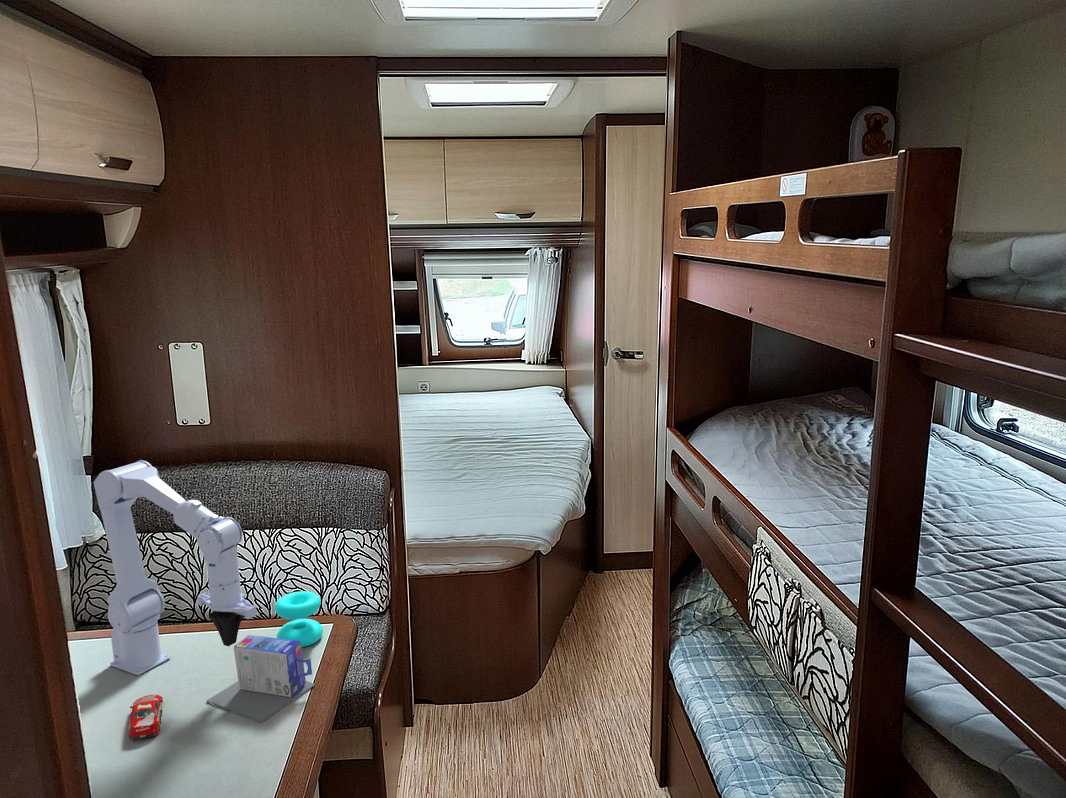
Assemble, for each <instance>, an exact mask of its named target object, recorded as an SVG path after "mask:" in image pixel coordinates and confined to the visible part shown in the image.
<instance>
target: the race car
mask: <svg viewBox="0 0 1066 798" xmlns="http://www.w3.org/2000/svg"><path fill="white" fill-rule="evenodd" d="M163 701H164V699H163V696H161V695H159V694H148V695H144V696H142V697H139V698H137V699H136V700H135V701H134V702H133V703H132V705H131V706H129V709H131V713H130V718H129V719H130V720H129V724H128V737H129V740H130V741H138V740H143V739H147V738H152V737H153V736H157V735H158V734H159V733H160V732H161V727H160V724H162V719H161V717H163V710H162V707H163V706H162V703H163V704H164V702H163ZM159 731H160V732H159Z"/></svg>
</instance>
